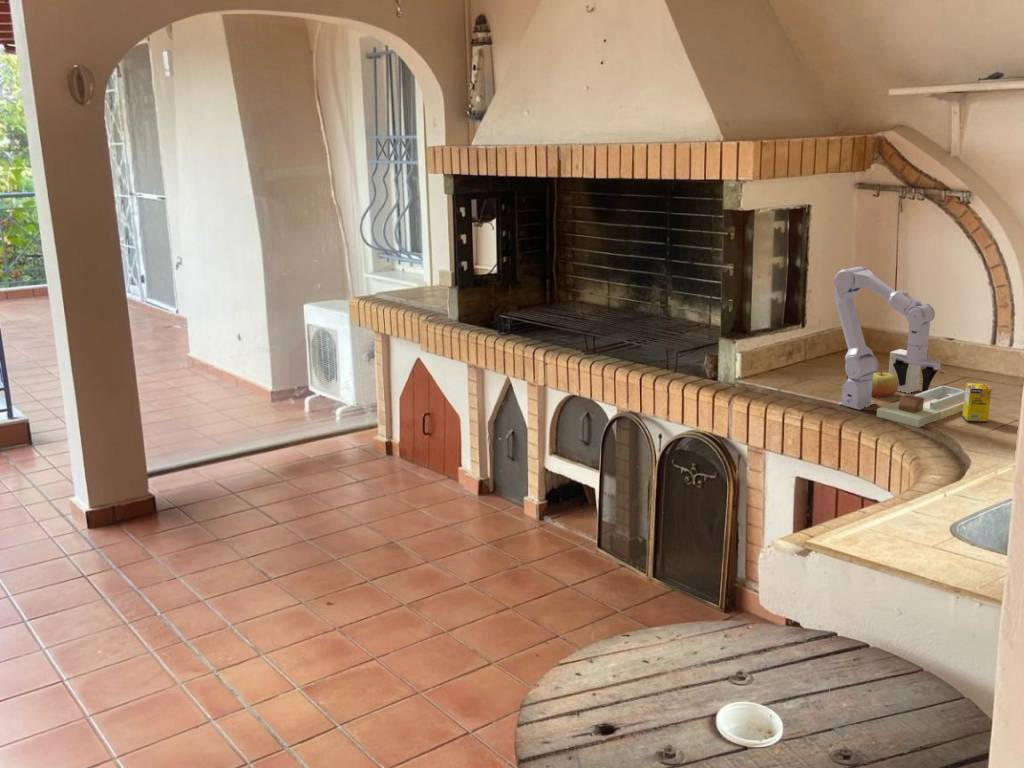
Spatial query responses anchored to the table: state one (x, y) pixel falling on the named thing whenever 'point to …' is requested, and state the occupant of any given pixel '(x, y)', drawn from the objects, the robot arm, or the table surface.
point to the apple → (884, 384)
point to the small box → (911, 374)
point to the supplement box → (976, 403)
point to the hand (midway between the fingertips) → (913, 387)
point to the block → (911, 403)
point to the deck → (927, 407)
